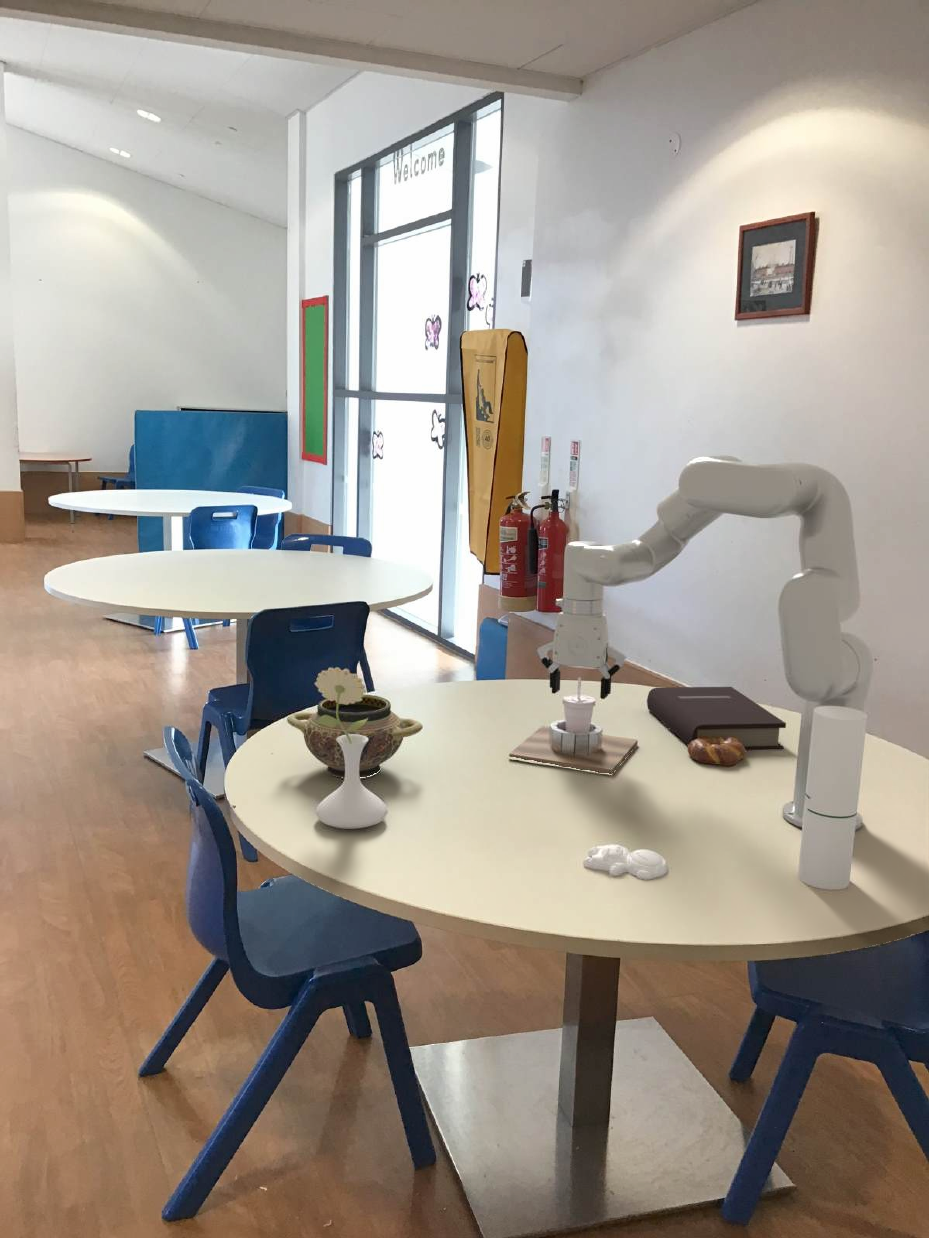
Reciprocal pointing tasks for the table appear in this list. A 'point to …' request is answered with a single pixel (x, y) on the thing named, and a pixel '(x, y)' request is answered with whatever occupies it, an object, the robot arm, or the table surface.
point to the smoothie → (578, 711)
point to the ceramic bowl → (379, 730)
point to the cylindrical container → (832, 796)
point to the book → (715, 715)
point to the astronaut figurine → (626, 861)
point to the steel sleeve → (575, 739)
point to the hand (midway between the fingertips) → (579, 694)
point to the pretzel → (717, 750)
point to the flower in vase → (347, 759)
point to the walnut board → (599, 762)
